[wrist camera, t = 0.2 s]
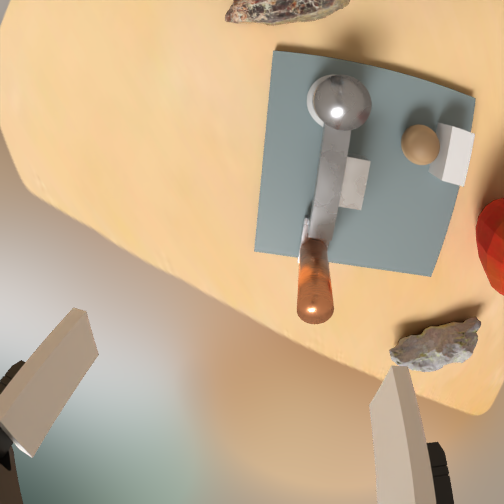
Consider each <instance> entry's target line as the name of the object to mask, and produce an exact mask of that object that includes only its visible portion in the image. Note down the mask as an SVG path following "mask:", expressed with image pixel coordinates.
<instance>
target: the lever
mask: <svg viewBox="0 0 504 504" xmlns="http://www.w3.org/2000/svg"><path fill="white" fill-rule="evenodd" d="M312 105H313V109H314V111H315V113H316V115H317V116H318V117H319V119H321V120H322V121H323V122H324V125H323V133H322V140H321V148H320V155H319V162H318V169H317V176H316V183H315V189H314V196H313V202H312V208H311V213H309V214H308V215H305V217H304V223H303V229H302V236H301V242H300V248H299V253H298V263H299V278H298V299H297V313H298V316H299V317H300V318H301V319H302V320H303V321H305V322H307V323H310V324H320V323H323V322H325V321H327V320H328V319H329V318H330V317H331V316H332V314H333V311H334V306H333V296H332V287H331V279H330V271H329V263H328V255H327V251H328V246H329V241H332V237H333V232H334V227H335V222H336V217H337V212H338V207H344V208H350V209H356V210H361V208H362V204H363V199H364V194H365V189H366V184H367V179H368V173H369V168H370V162H371V161H370V160H369V159H368V158H367V157H365V156H364V155H359V154H354V153H348V148H349V142H350V135H351V130H353V129H356V128H358V127H360V126H361V125H363V124H364V123H365V122H366V120H367V119H368V117H369V115H370V113H371V108H372V101H371V97H370V94H369V92H368V90H367V88H366V87H365V86H364V85H363V84H362V83H361V82H360V81H359V80H357V79H355V78H354V77H351V76H347V75H335V76H331V77H329V78H327V79H325V80H324V81H323V82H322V83H321V84H319V85H318V87H317V88H316V89H315V91H314V93H313V97H312Z"/></svg>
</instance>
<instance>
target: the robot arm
mask: <svg viewBox="0 0 504 504" xmlns="http://www.w3.org/2000/svg"><path fill="white" fill-rule="evenodd" d="M98 355H99V354H98V351H97V347H96V344H95V341H94V338H93V334H92V330H91V327H90V323H89V320H88V316H87V312H86V311H83V310H80V309H77V308H73V309H72V310H71V311H70V312H69V313H68V314H67V315H66V317H65V318H64V319H63V320H62V321H61V322H60V323H59V324H58V325H57V326H56V328H55V329H54V330H53V331H52V332H51V333H50V334H49V336H48V337H47V338H46V339H45V340H44V341H43V342H42V344H41V345H40V346H39V347H38V348H37V349H36V351H35V352H34V353H33V354H32V355H31V357H30V358H29V359H28V360H27V361H26V362H24V361H22V360H21V361H19V362H18V363H16V364H15V365H13V366H12V367H11V368H10V369H9V370H8V372H7V373H6V374H5V376H4V377H3V378H2V379H1V380H0V504H23V501H22V497H21V493H20V487H19V483H18V477H17V471H16V466H15V459H14V452H13V449H12V446H11V445H12V444H13V443H14V444H15V445H16V446H17V447H18V448H19V449H20V450H22V451H23V452H25V453H26V454H28V455H29V456H31V457H32V458H33V456H34V455H35V453H36V451H37V449H38V448H39V446H40V444H41V443H42V441H43V439H44V438H45V436H46V434H47V433H48V431H49V430H50V428H51V426H52V424H53V423H54V421H55V420H56V418H57V417H58V415H59V413H60V412H61V411H62V409H63V407H64V406H65V404H66V403H67V401H68V399H69V398H70V397H71V395H72V393H73V392H74V390H75V389H76V387H77V386H78V384H79V383H80V381H81V380H82V378H83V377H84V375H85V374H86V372H87V371H88V370H89V368H90V367H91V365H92V364H93V362H94V361H95V359H96V358H97V356H98ZM369 407H370V415H371V424H372V433H373V444H374V455H375V468H376V484H377V504H454V500H453V494H452V488H451V482H450V477H449V476H448V474H449V471H448V467H447V461H446V457H445V453H444V451H443V449H442V448H441V446H440V444H439V443H438V442H433V443H426V438H425V434H424V429H423V425H422V420H421V416H420V411H419V408H418V403H417V399H416V395H415V391H414V387H413V384H412V380H411V376H410V373H409V369H408V366H391V368H390V370H389V372H388V373H387V375H386V377H385V379H384V381H383V383H382V384H381V386H380V388H379V389H378V391H377V393H376V395H375V396H374V398H373V400H372V401H371V403H370V405H369Z"/></svg>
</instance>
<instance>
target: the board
mask: <svg viewBox="0 0 504 504" xmlns="http://www.w3.org/2000/svg"><path fill="white" fill-rule="evenodd" d="M335 75H347V76H351V77H354V78H355V79H357V80H359V81H360V82H361V83H362V84H363V85H364V86H365V87H366V88H367V90H368V92H369V94H370V97H371V101H372V108H371V113H370V115H369V117H368V119H367V120H366V122H365V123H364V124H363V125H361V126H360V127H358V128H356V129H353V130H351V135H350V142H349V148H348V153H354V154H359V155H364V156H365V157H367V158H368V159H369V160H370V161H371V162H370V168H369V173H368V179H367V184H366V189H365V194H364V199H363V204H362V208H361V210H356V209H350V208H344V207H338V212H337V217H336V222H335V227H334V232H333V237H332V241H329V246H328V251H327V255H328V262H332V263H339V264H346V265H353V266H360V267H367V268H374V269H381V270H388V271H395V272H402V273H409V274H416V275H423V276H430V277H431V275H432V273H433V270H434V267H435V265H436V262H437V259H438V256H439V253H440V250H441V248H442V245H443V242H444V239H445V235H446V232H447V229H448V226H449V223H450V219H451V216H452V212H453V209H454V205H455V202H456V198H457V194H458V190H459V186H463V187H464V184H465V180H466V175H467V171H468V167H469V162H470V157H471V152H472V147H473V142H474V136H475V134H473V133H471V128H472V121H473V114H474V107H475V99H476V98H473V97H471V96H468V95H466V94H463V93H461V92H458V91H455V90H453V89H450V88H447V87H444V86H441V85H438V84H435V83H432V82H429V81H426V80H423V79H420V78H417V77H413V76H410V75H406V74H403V73H399V72H395V71H391V70H388V69H384V68H379V67H375V66H371V65H366V64H362V63H357V62H352V61H347V60H341V59H335V58H329V57H323V56H316V55H309V54H301V53H293V52H283V51H273V59H272V70H271V81H270V91H269V102H268V113H267V123H266V134H265V144H264V155H263V165H262V176H261V186H260V197H259V207H258V218H257V228H256V238H255V249H254V251H255V252H262V253H269V254H276V255H283V256H290V257H297V258H298V253H299V248H300V242H301V236H302V229H303V223H304V217H305V215H308V214H309V213H311V208H312V202H313V196H314V189H315V183H316V176H317V169H318V162H319V155H320V148H321V140H322V133H323V125H324V122H323V121H322V120H321V119H319V117H318V116H317V115H316V113H315V111H314V109H313V105H312V97H313V93H314V91H315V89H316V88H317V87H318V85H319V84H321V83H322V82H323V81H324V80H325V79H327V78H329V77H331V76H335ZM418 124H419V125H425V126H427V127H429V128H431V129H432V130H433V131H434V132H435V133H436V135H437V137H438V139H439V142H440V151H439V154H438V156H437V158H436V159H435V160H434V161H433V162H432V163H430V164H427V165H417V164H414V163H412V162H411V161H409V160H408V159H407V158H406V156H405V155H404V153H403V151H402V148H401V138H402V135H403V133H404V132H405V130H406V129H407V128H409V127H410V126H413V125H418Z"/></svg>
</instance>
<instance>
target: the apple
mask: <svg viewBox="0 0 504 504" xmlns="http://www.w3.org/2000/svg"><path fill="white" fill-rule="evenodd" d="M476 241H477V247H478V254H479V258H480V261H481V263H482V266H483V268H484V270H485V273H486V275H487V277H488V279H489V282H490V284H491V286H492V287H493V288H494V289H495V290H496V291H498V292H499V293H500V294H502V295H504V198H501V199H497V200H494V201H492V202H491V203H490V204H488V205H487V206H485V208H484V209H483V211H482V212H481V214H480V215H479V217H478V221H477V225H476Z"/></svg>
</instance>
